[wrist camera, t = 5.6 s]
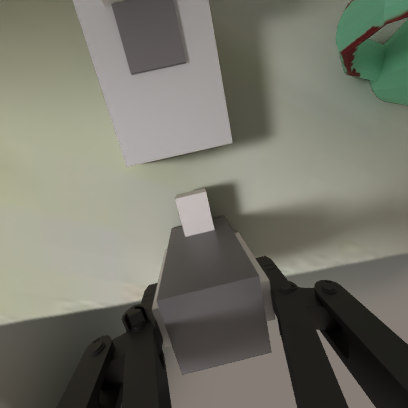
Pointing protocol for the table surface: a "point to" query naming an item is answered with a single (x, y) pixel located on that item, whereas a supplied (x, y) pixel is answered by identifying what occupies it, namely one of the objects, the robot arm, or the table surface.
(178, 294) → the grey rectangular block
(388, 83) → the mug
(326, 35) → the table surface
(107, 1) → the block
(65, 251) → the table surface
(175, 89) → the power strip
